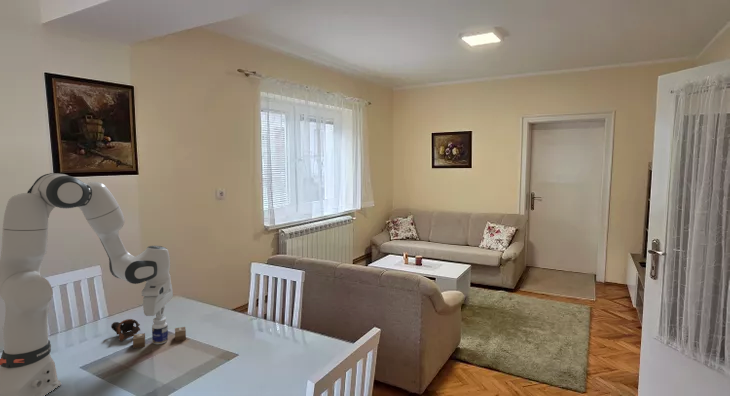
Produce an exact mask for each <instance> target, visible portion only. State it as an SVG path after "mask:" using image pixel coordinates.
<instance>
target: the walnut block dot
mask: <svg viewBox="0 0 730 396" xmlns="http://www.w3.org/2000/svg"><path fill="white" fill-rule="evenodd" d="M144 347H146V333H145V332H144V333H136V334H134V336H132V348H133V349H138V348H144Z"/></svg>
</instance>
